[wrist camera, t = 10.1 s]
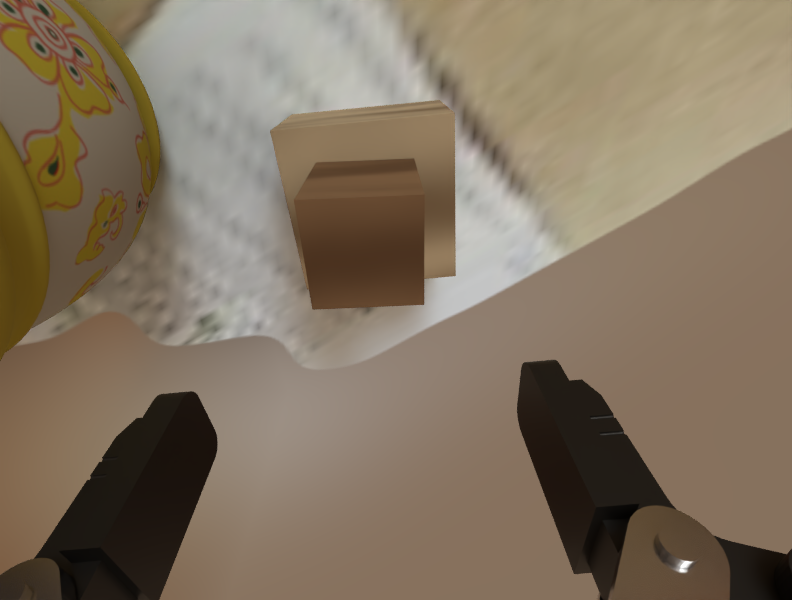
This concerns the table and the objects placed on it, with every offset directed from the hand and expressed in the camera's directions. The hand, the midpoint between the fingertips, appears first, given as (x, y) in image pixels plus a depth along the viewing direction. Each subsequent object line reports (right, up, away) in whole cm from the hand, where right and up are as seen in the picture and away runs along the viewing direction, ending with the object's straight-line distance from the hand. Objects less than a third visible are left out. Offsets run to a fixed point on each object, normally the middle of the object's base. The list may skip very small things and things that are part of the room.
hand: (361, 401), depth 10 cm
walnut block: (-1, +7, +12) cm, 14 cm away
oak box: (-1, +11, +17) cm, 20 cm away
